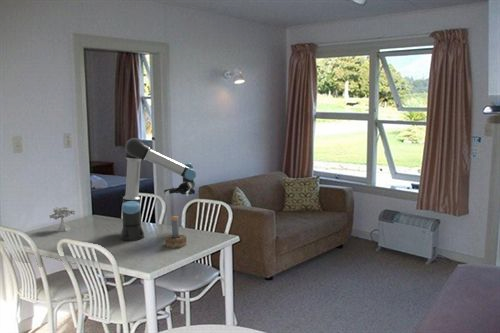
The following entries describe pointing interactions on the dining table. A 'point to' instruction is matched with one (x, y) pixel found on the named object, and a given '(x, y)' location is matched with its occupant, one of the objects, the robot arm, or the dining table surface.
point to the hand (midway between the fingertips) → (176, 194)
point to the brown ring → (175, 241)
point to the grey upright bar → (175, 227)
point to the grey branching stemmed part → (62, 214)
